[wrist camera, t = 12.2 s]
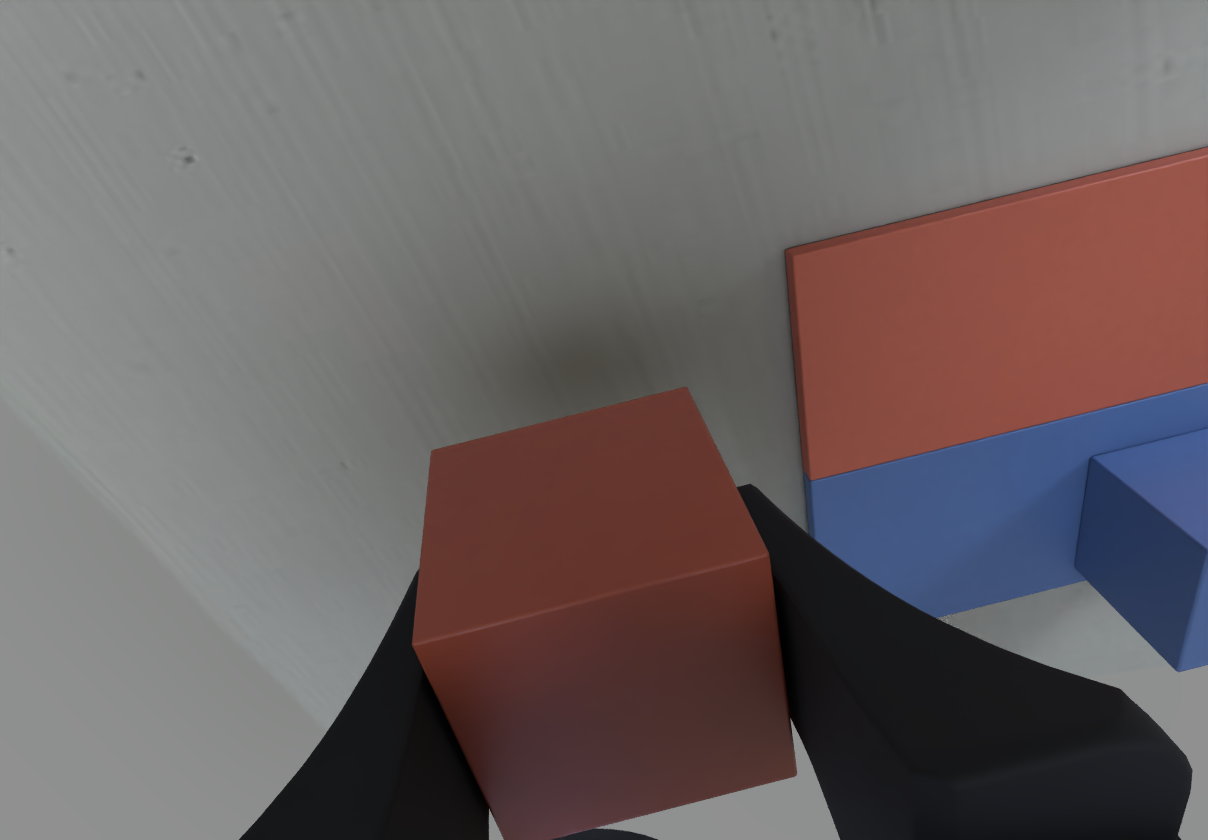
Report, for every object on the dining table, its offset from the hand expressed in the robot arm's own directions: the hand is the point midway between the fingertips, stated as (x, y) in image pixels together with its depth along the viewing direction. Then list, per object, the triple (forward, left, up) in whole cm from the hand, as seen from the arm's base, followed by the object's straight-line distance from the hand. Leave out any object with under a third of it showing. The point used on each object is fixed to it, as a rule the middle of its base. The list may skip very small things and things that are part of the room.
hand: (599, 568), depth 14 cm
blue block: (-9, -17, -8) cm, 21 cm away
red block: (0, 0, -1) cm, 1 cm away
